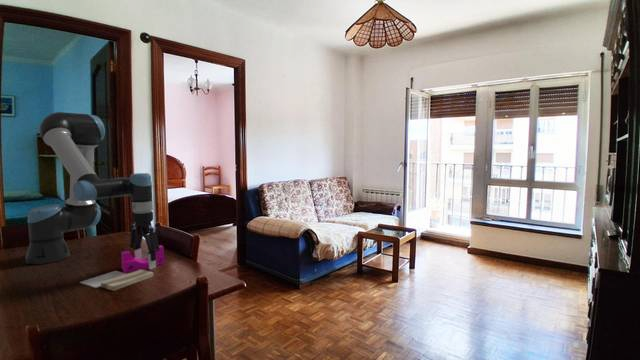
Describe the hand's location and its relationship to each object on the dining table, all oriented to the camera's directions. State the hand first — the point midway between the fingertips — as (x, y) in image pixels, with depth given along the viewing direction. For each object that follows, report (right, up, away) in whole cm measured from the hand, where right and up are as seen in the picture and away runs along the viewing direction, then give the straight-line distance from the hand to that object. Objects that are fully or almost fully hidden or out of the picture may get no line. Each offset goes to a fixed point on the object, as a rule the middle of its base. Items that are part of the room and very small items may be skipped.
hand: (145, 266), depth 138 cm
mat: (-8, -1, -13) cm, 15 cm away
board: (+1, -2, -15) cm, 15 cm away
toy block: (0, -1, 0) cm, 1 cm away
